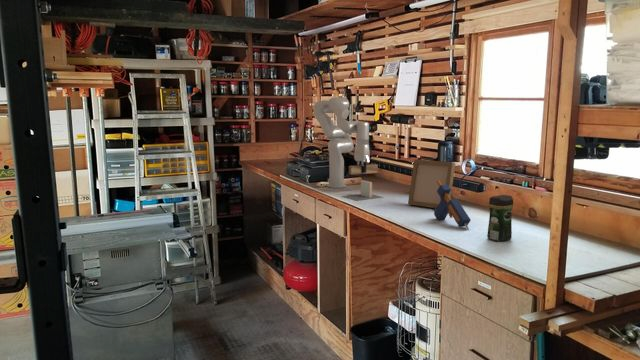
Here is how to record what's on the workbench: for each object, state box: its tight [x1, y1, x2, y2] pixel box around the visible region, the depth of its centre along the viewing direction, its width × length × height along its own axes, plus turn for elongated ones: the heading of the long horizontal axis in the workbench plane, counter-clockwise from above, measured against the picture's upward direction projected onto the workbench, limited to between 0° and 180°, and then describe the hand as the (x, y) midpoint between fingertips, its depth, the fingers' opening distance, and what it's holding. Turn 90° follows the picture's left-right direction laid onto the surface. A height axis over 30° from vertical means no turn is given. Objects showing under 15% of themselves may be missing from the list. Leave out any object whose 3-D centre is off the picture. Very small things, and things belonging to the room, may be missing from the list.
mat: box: [340, 193, 384, 202], centre depth 290 cm, size 16×20×1 cm
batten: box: [348, 163, 379, 176], centre depth 303 cm, size 3×20×5 cm, turn 122°
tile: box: [360, 179, 373, 198], centre depth 290 cm, size 9×2×9 cm, turn 32°
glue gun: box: [433, 180, 471, 231], centre depth 232 cm, size 6×31×15 cm
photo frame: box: [407, 159, 456, 209], centre depth 266 cm, size 15×22×25 cm
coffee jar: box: [486, 194, 514, 242], centre depth 204 cm, size 10×8×19 cm
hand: (362, 171), depth 303 cm, fingers closed on batten, 3 cm apart
